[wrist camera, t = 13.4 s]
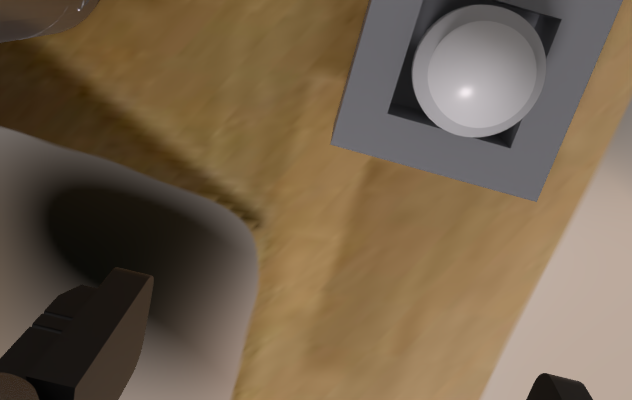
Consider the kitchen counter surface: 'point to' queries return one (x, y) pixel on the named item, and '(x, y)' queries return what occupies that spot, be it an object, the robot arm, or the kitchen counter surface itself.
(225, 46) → the kitchen counter surface
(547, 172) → the tray
